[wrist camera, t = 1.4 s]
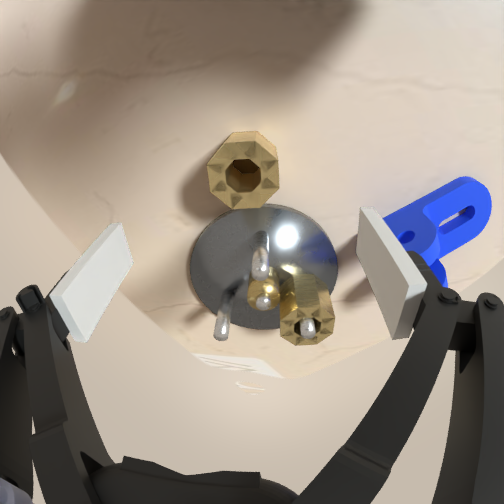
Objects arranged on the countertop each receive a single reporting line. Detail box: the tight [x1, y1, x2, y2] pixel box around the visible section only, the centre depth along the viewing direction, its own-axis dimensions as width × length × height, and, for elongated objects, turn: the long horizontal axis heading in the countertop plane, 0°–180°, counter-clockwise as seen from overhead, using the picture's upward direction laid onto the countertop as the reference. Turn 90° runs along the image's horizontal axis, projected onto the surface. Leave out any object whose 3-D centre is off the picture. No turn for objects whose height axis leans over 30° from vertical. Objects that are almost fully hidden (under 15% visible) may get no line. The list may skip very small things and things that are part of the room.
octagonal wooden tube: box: [207, 131, 279, 209], centre depth 27 cm, size 6×6×6 cm
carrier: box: [190, 204, 338, 346], centre depth 33 cm, size 18×18×8 cm
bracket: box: [382, 176, 492, 288], centre depth 29 cm, size 18×8×9 cm, turn 122°
